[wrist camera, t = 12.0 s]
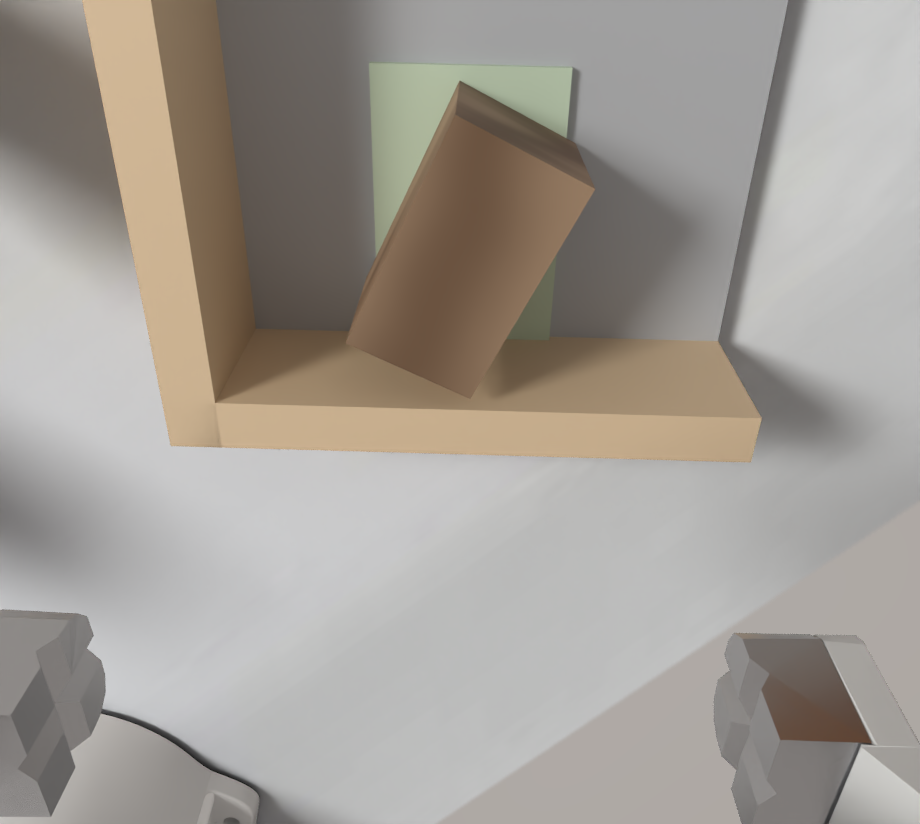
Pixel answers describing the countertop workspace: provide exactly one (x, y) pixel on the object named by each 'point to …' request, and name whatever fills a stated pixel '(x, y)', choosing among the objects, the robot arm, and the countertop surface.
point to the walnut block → (469, 242)
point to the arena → (383, 189)
